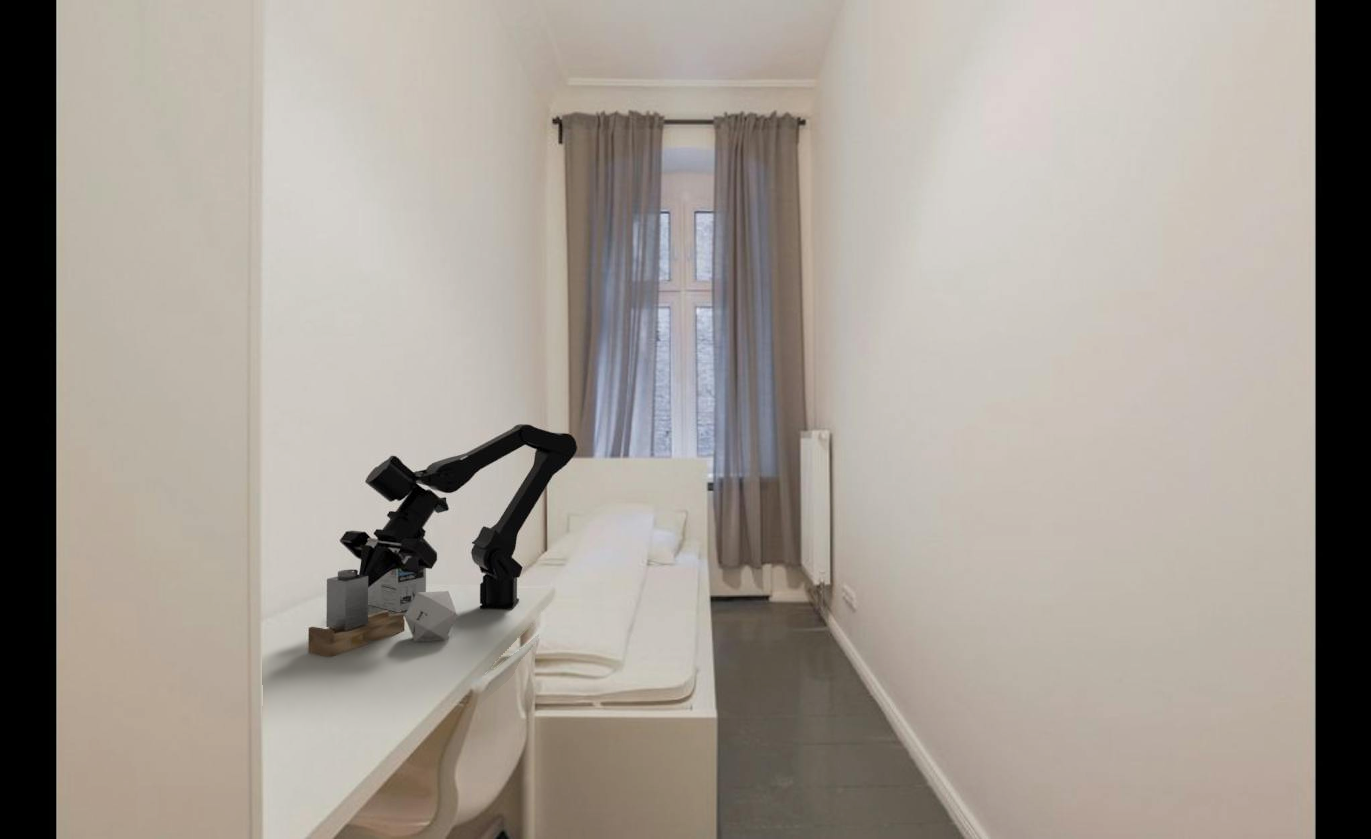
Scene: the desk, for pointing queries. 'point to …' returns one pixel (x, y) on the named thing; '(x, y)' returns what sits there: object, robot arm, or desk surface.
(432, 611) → the die
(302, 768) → the desk surface
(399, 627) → the beam
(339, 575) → the square grey bottle
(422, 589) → the light bulb box
